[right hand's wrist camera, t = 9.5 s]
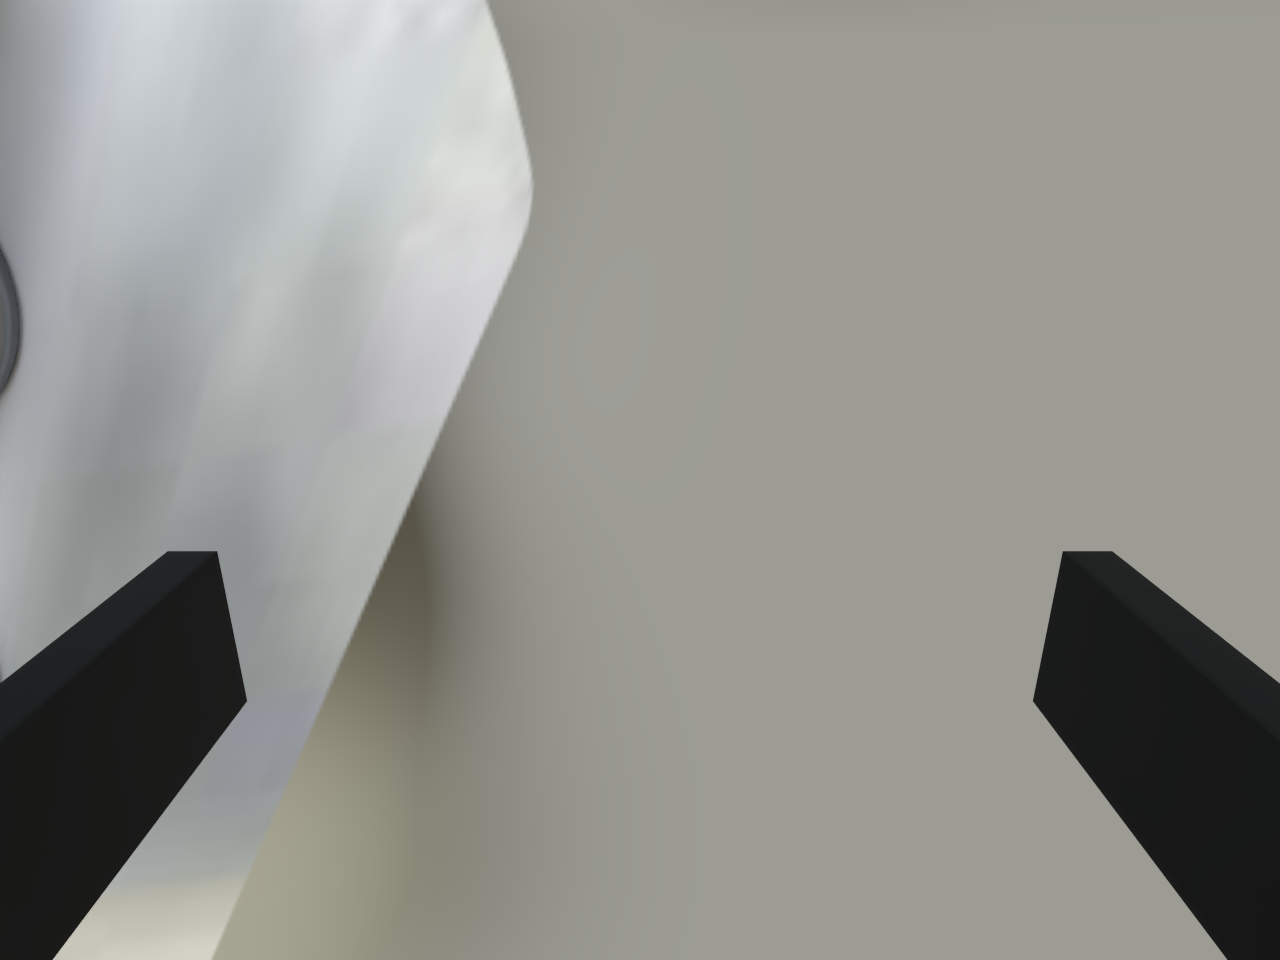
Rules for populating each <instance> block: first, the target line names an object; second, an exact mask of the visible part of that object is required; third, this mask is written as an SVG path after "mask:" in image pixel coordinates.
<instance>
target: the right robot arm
mask: <svg viewBox="0 0 1280 960" xmlns="http://www.w3.org/2000/svg"><path fill="white" fill-rule="evenodd" d="M18 338H19V317H18V306H17V301H16V296H15V290H14V287H13V283H12V280H11V276H10V273H9V270H8V268H7V265H6V263H5V260H4V257H3V255H2V253H1V251H0V392H1V391H2V389H3V388H4V386H5V384H6V382H7V380H8V378H9V376H10V373H11V370H12V368H13V365H14V361H15V357H16V353H17V347H18ZM246 702H247V698H246V693H245V688H244V683H243V678H242V673H241V668H240V663H239V658H238V653H237V648H236V643H235V638H234V633H233V628H232V623H231V618H230V613H229V608H228V603H227V598H226V593H225V588H224V583H223V578H222V573H221V568H220V563H219V558H218V553H217V551H168V552H166V553H165V554H164V555H163V556H161V557H160V558H159V559H157V560H156V561H155V562H154V563H152V564H151V565H150V566H149V567H147V568H146V569H145V570H144V571H142V572H141V573H140V574H138V575H137V576H136V577H135V578H133V579H132V580H131V581H130V582H128V583H127V584H126V585H125V586H123V587H122V588H121V589H119V590H118V591H117V592H116V593H114V594H113V595H112V596H111V597H109V598H108V599H107V600H106V601H104V602H103V603H102V604H100V605H99V606H98V607H97V608H95V609H94V610H93V611H92V612H90V613H89V614H88V615H87V616H85V617H84V618H83V619H81V620H80V621H79V622H78V623H76V624H75V625H74V626H73V627H71V628H70V629H69V630H68V631H66V632H65V633H64V634H62V635H61V636H60V637H59V638H57V639H56V640H55V641H54V642H52V643H51V644H50V645H49V646H47V647H46V648H45V649H43V650H42V651H41V652H40V653H38V654H37V655H36V656H35V657H33V658H32V659H31V660H29V661H28V662H27V663H26V664H24V665H23V666H22V667H21V668H19V669H18V670H17V671H16V672H14V673H13V674H12V675H10V676H9V677H8V678H7V679H5V680H4V681H3V682H2V683H0V960H53V958H54V957H55V956H56V954H57V953H58V952H59V950H60V949H61V948H62V946H63V945H64V944H65V942H66V941H67V940H68V938H69V937H70V936H71V934H72V933H73V932H74V930H75V929H76V928H77V926H78V925H79V924H80V923H81V921H82V920H83V919H84V917H85V916H86V915H87V913H88V912H89V911H90V909H91V908H92V907H93V905H94V904H95V903H96V901H97V900H98V899H99V897H100V896H101V895H102V893H103V892H104V891H105V889H106V888H107V887H108V885H109V884H110V883H111V881H112V880H113V879H114V877H115V876H116V875H117V873H118V872H119V871H120V869H121V868H122V867H123V865H124V864H125V863H126V861H127V860H128V859H129V857H130V856H131V855H132V853H133V852H134V851H135V849H136V848H137V847H138V845H139V844H140V843H141V841H142V840H143V839H144V837H145V836H146V835H147V833H148V832H149V831H150V829H151V828H152V827H153V825H154V824H155V823H156V821H157V820H158V819H159V817H160V816H161V815H162V813H163V812H164V811H165V810H166V808H167V807H168V806H169V804H170V803H171V802H172V800H173V799H174V798H175V796H176V795H177V794H178V792H179V791H180V790H181V788H182V787H183V786H184V784H185V783H186V782H187V780H188V779H189V778H190V776H191V775H192V774H193V772H194V771H195V770H196V768H197V767H198V766H199V764H200V763H201V762H202V760H203V759H204V758H205V756H206V755H207V754H208V752H209V751H210V750H211V748H212V747H213V746H214V744H215V743H216V742H217V740H218V739H219V738H220V736H221V735H222V734H223V732H224V731H225V730H226V728H227V727H228V726H229V724H230V723H231V722H232V720H233V719H234V718H235V716H236V715H237V714H238V712H239V711H240V710H241V708H242V707H243V706H244V704H245V703H246ZM1033 702H1034V703H1035V704H1036V706H1037V707H1038V708H1039V710H1040V711H1041V712H1042V714H1043V715H1044V716H1045V718H1046V719H1047V720H1048V722H1049V723H1050V724H1051V726H1052V727H1053V728H1054V730H1055V731H1056V732H1057V734H1058V735H1059V736H1060V738H1061V739H1062V740H1063V742H1064V743H1065V744H1066V746H1067V747H1068V748H1069V750H1070V751H1071V752H1072V754H1073V755H1074V756H1075V758H1076V759H1077V760H1078V762H1079V763H1080V764H1081V766H1082V767H1083V768H1084V770H1085V771H1086V772H1087V774H1088V775H1089V776H1090V778H1091V779H1092V780H1093V782H1094V783H1095V784H1096V785H1097V787H1098V788H1099V790H1100V791H1101V792H1102V794H1103V795H1104V796H1105V798H1106V799H1107V800H1108V802H1109V803H1110V804H1111V806H1112V807H1113V808H1114V809H1115V811H1116V812H1117V813H1118V815H1119V816H1120V817H1121V819H1122V820H1123V821H1124V823H1125V824H1126V825H1127V827H1128V828H1129V829H1130V831H1131V832H1132V833H1133V835H1134V836H1135V837H1136V839H1137V840H1138V841H1139V843H1140V844H1141V845H1142V847H1143V848H1144V849H1145V851H1146V852H1147V853H1148V855H1149V856H1150V857H1151V859H1152V860H1153V861H1154V863H1155V864H1156V865H1157V867H1158V868H1159V869H1160V871H1161V872H1162V873H1163V875H1164V876H1165V877H1166V879H1167V880H1168V881H1169V883H1170V884H1171V885H1172V887H1173V888H1174V889H1175V891H1176V892H1177V893H1178V895H1179V896H1180V897H1181V899H1182V900H1183V901H1184V903H1185V904H1186V905H1187V906H1188V908H1189V909H1190V911H1191V912H1192V913H1193V915H1194V916H1195V917H1196V918H1197V920H1198V921H1199V923H1200V924H1201V925H1202V926H1203V928H1204V929H1205V930H1206V932H1207V933H1208V934H1209V936H1210V937H1211V938H1212V940H1213V941H1214V942H1215V944H1216V945H1217V946H1218V948H1219V949H1220V950H1221V952H1222V953H1223V954H1224V956H1225V957H1226V958H1227V960H1280V683H1278V682H1277V681H1276V680H1275V679H1273V678H1272V677H1271V676H1269V675H1268V674H1267V673H1266V672H1264V671H1263V670H1262V669H1261V668H1259V667H1258V666H1257V665H1256V664H1254V663H1253V662H1252V661H1250V660H1249V659H1248V658H1247V657H1245V656H1244V655H1243V654H1242V653H1240V652H1239V651H1238V650H1237V649H1235V648H1234V647H1233V646H1231V645H1230V644H1229V643H1228V642H1226V641H1225V640H1224V639H1223V638H1221V637H1220V636H1219V635H1218V634H1216V633H1215V632H1214V631H1212V630H1211V629H1210V628H1209V627H1207V626H1206V625H1205V624H1203V623H1202V622H1201V621H1200V620H1199V619H1197V618H1196V617H1195V616H1193V615H1192V614H1191V613H1190V612H1188V611H1187V610H1186V609H1185V608H1183V607H1182V606H1181V605H1180V604H1178V603H1177V602H1176V601H1174V600H1173V599H1172V598H1171V597H1169V596H1168V595H1167V594H1166V593H1164V592H1163V591H1162V590H1160V589H1159V588H1158V587H1157V586H1155V585H1154V584H1153V583H1152V582H1150V581H1149V580H1148V579H1147V578H1145V577H1144V576H1143V575H1142V574H1140V573H1139V572H1138V571H1136V570H1135V569H1134V568H1133V567H1131V566H1130V565H1129V564H1128V563H1126V562H1125V561H1124V560H1123V559H1121V558H1120V557H1119V556H1117V555H1116V554H1115V553H1114V552H1112V551H1063V553H1062V558H1061V563H1060V569H1059V574H1058V578H1057V583H1056V589H1055V593H1054V598H1053V603H1052V608H1051V614H1050V619H1049V623H1048V629H1047V633H1046V638H1045V643H1044V648H1043V653H1042V658H1041V663H1040V669H1039V673H1038V678H1037V683H1036V688H1035V693H1034V698H1033Z"/></svg>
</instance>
